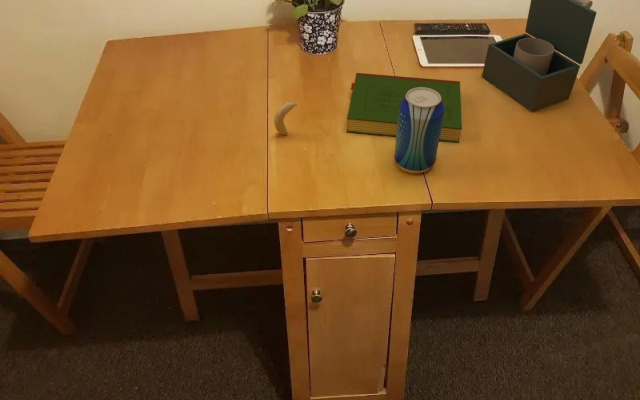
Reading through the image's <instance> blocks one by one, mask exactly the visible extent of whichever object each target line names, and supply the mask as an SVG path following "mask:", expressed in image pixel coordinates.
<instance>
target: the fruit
mask: <svg viewBox="0 0 640 400" xmlns="http://www.w3.org/2000/svg"><path fill="white" fill-rule="evenodd" d="M297 105H298V103H297V102H292V101H288V102H286V103H284V104H283V105H282V106H280V107H279V109H277V111H276V113H275V115H274V118H273V123H274V124H273V125H274V127H275V129H276V132H278V134H279V135H282V136H288V134H289V133H288V129H287V127H286V125H285V122H284V119H285V118H286V116H287V115H288V114H289V113H290V111H292V110H293V109H294V108H295V107H297Z"/></svg>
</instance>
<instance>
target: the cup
mask: <svg viewBox="0 0 640 400" xmlns="http://www.w3.org/2000/svg"><path fill="white" fill-rule="evenodd" d="M554 50H555V49H554V46H553V45H552V44H550V43H549V42H547V41H544V40H542V39H537V38H534V37H533V38H525V39H522V40H519V41H518V42H517V44H516V48H515V52H514V56H513V58H515V59H516V60H518V61H519V62H521V63H522V64H524V65H525V66H527V67H528V68H530V69H531V70H533V71H535V72H536V73H538V74H539V75H541V76H545V75H547V73H548V70H549V67H550V63H551V60H552V57H553V54H554Z"/></svg>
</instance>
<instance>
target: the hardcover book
mask: <svg viewBox="0 0 640 400" xmlns="http://www.w3.org/2000/svg"><path fill="white" fill-rule="evenodd" d="M418 87H425V88H430V89H433V90H435V91H437V92H438V93H439V94H440V96H441V101H442V103H443V105H444V115H443V121H442V126H441V132H440V138H439V142H447V143H456V144H459V143H460V133H461V131H462V129H463V124H462V122H463V121H462V97H461V81H459V80H448V79H437V78H436V79H435V78H425V77H413V76H412V77H410V76H399V75H389V74H388V75H387V74H374V73H362V72H361V73H360V72H356V73H355V78H354V82H351V85H350V91H352V92H351V97H350V102H349V106H348V111H347V117H346V119H347V127H346V133H349V134H361V135H369V136H380V137H381V136H382V137H383V136H384V137H392V138H396V134H397V126H398V117H399V108H400V103H401V101H402V100H403V99H404V98H405V97H406V93H407V92H408V91H409V90H411V89H413V88H418Z"/></svg>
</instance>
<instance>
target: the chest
mask: <svg viewBox="0 0 640 400" xmlns="http://www.w3.org/2000/svg"><path fill="white" fill-rule="evenodd" d="M525 38H534V37H533V36H531V35H529V34H528V33H526V32H524V33H523V34H522V33H521V34H519V35H515V36H512V37H508V38H505V39H501V40H498V41H495V42H491V43H489V44H488V46H487V50H486V55H485V59H484V65H483V69H482V73H481V77H482V78H483V79H485V80H486V81H487V82H489V83H490V84H492V85H493V86H494V87H496V88H497V89H498V90H500V91H501V92H503V93H504V94H506V95H507V96H508V97H510V98H511V99H512V100H514V101H515V102H516V103H518V104H519V105H521V106H522V107H524V108H525V109H527V110H528V111H529V112H531V113H534V112H536V111H539V110H542V109H545V108H547V107H551V106H554V105H556V104H558V103H559V104H560V103H562V102H564V101H567V100H569V99H570V97H571V94H572V91H573V88H574V85H575V82H576V80H577V77H578V74H579V71H580V68H581V65H580V64H578V63H576V62H575V61H573V60H571V59H570V58H568V57H566V56H565V55H563V54H561V53H560V52H558V51H556V50H555V49H554V54H553V57H552V60H551V63H550V67H549V70H548V73H547V75H545V76H541V75H539V74H538V73H536V72H535V71H533V70H531V69H530V68H528V67H527V66H525V65H524V64H522V63H521V62H519V61H518V60H516V59H515V58H513V56H514V52H515V48H516V44H517V42H518V41H519V40H522V39H525Z"/></svg>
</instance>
